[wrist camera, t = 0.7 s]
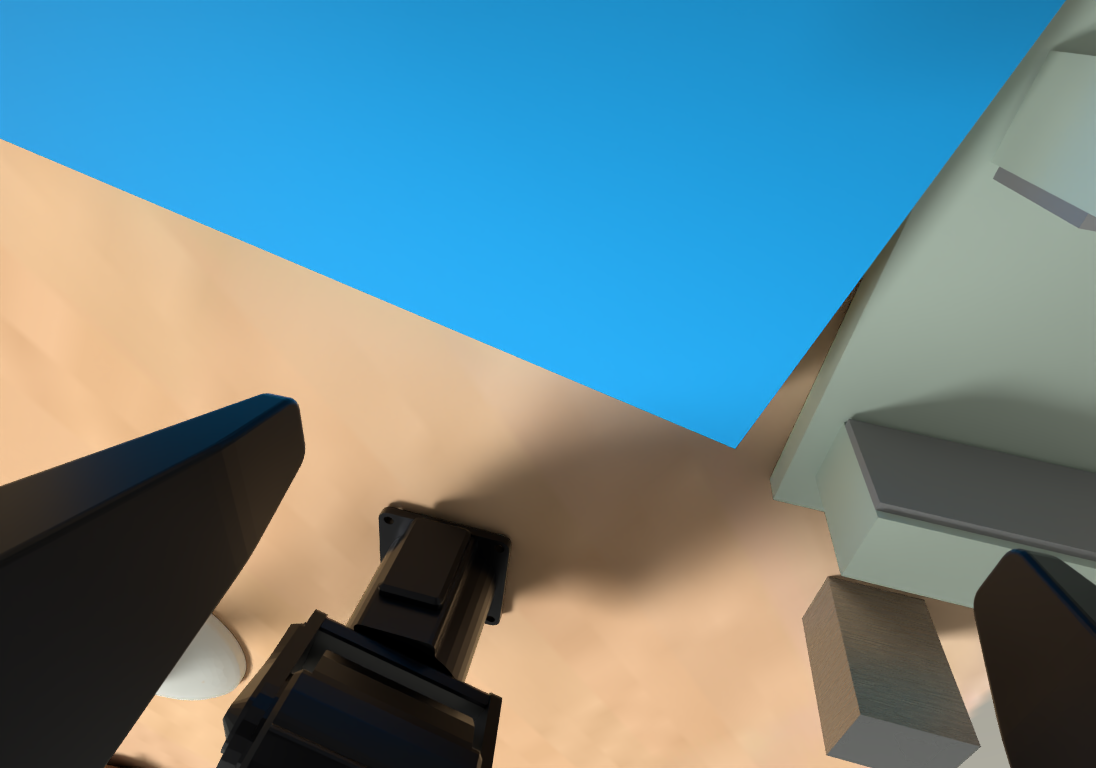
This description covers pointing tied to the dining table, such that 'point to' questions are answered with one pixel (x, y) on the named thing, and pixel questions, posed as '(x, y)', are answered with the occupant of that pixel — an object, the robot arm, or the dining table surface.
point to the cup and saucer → (109, 767)
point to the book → (538, 157)
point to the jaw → (1055, 141)
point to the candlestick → (206, 665)
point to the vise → (962, 379)
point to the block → (884, 680)
